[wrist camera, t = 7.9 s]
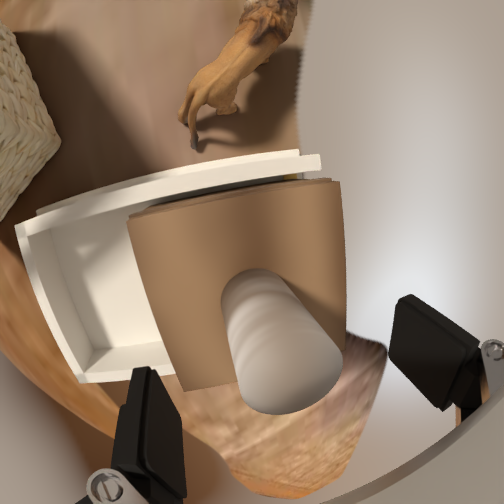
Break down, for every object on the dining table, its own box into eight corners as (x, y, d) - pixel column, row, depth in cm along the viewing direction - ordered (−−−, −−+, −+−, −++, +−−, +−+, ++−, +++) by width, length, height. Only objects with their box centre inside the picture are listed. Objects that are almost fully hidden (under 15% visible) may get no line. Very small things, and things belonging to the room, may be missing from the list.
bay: (95, 359, 25) (83, 388, 20) (40, 208, 19) (12, 217, 15) (312, 316, 28) (332, 340, 23) (294, 150, 23) (318, 144, 18)
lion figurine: (234, 14, 18) (253, -42, 10) (284, 34, 20) (322, -13, 11) (166, 140, 21) (148, 118, 12) (224, 161, 22) (240, 152, 14)
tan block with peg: (183, 334, 24) (185, 476, 10) (148, 203, 20) (64, 257, 6) (308, 305, 26) (398, 411, 12) (294, 176, 22) (430, 187, 8)
